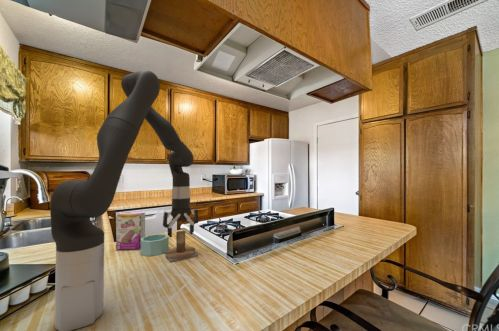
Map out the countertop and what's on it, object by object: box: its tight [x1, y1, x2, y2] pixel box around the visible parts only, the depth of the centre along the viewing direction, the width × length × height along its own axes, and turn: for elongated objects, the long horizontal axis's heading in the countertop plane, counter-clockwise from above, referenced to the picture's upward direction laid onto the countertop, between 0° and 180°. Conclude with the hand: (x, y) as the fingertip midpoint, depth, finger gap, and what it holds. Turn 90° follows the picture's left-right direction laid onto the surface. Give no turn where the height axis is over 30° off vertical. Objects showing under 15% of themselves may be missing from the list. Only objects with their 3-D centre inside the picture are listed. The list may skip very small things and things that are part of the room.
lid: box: [165, 230, 196, 260], centre depth 90 cm, size 12×12×9 cm
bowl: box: [139, 233, 170, 257], centre depth 94 cm, size 11×11×6 cm
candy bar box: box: [115, 211, 146, 251], centre depth 99 cm, size 11×5×16 cm, turn 92°
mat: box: [165, 251, 199, 263], centre depth 90 cm, size 11×11×1 cm
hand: (181, 235), depth 90 cm, fingers open, 8 cm apart
